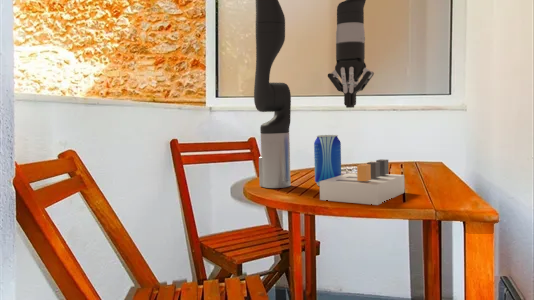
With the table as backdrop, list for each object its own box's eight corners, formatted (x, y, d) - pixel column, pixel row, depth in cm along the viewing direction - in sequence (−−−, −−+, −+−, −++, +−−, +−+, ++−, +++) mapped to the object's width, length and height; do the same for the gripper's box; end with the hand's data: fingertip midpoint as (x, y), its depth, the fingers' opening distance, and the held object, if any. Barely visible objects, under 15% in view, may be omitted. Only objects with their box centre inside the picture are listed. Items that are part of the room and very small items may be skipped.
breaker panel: (320, 199, 121) (319, 180, 120) (351, 188, 137) (351, 172, 137) (377, 205, 112) (377, 184, 111) (404, 192, 128) (404, 174, 127)
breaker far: (376, 174, 127) (376, 160, 127) (380, 173, 129) (380, 159, 129) (384, 175, 126) (384, 160, 125) (388, 173, 128) (388, 159, 128)
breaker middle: (367, 177, 122) (366, 162, 121) (371, 176, 124) (371, 161, 124) (375, 178, 120) (375, 163, 120) (379, 176, 123) (379, 161, 122)
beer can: (340, 187, 141) (339, 135, 140) (313, 187, 143) (312, 136, 142) (342, 183, 149) (341, 134, 148) (316, 183, 151) (315, 135, 150)
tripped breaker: (357, 180, 116) (357, 165, 116) (362, 179, 119) (361, 164, 118) (366, 181, 115) (365, 165, 115) (370, 179, 117) (370, 164, 117)
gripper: (321, 43, 122) (321, 108, 123) (367, 38, 114) (367, 107, 116) (334, 45, 128) (334, 107, 130) (379, 41, 120) (379, 107, 122)
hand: (350, 107), depth 123 cm, fingers closed
